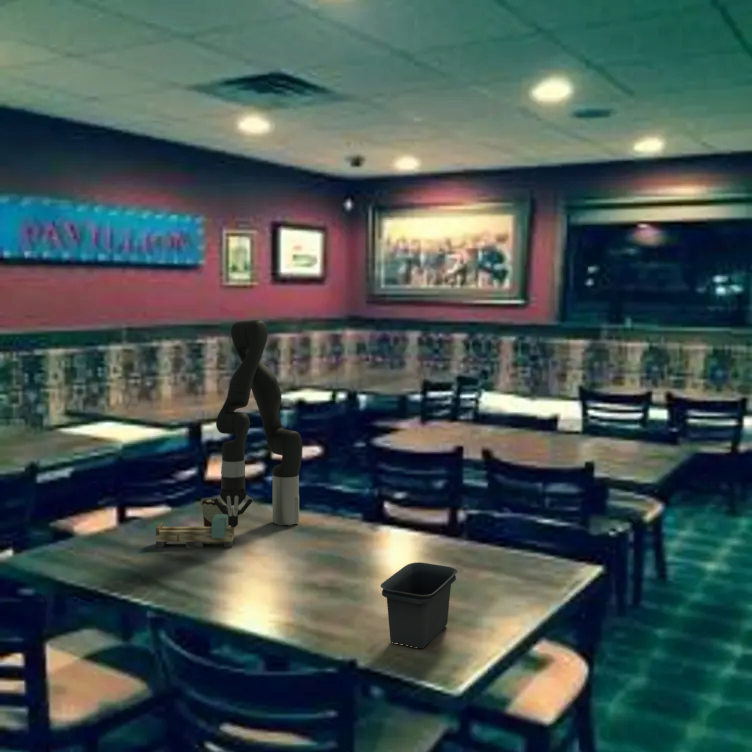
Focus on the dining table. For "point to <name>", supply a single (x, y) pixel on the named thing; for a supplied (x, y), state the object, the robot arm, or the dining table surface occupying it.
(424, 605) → the storage bin
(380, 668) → the dining table surface
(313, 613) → the dining table surface
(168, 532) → the beam
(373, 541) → the dining table surface
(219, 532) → the rider
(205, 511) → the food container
